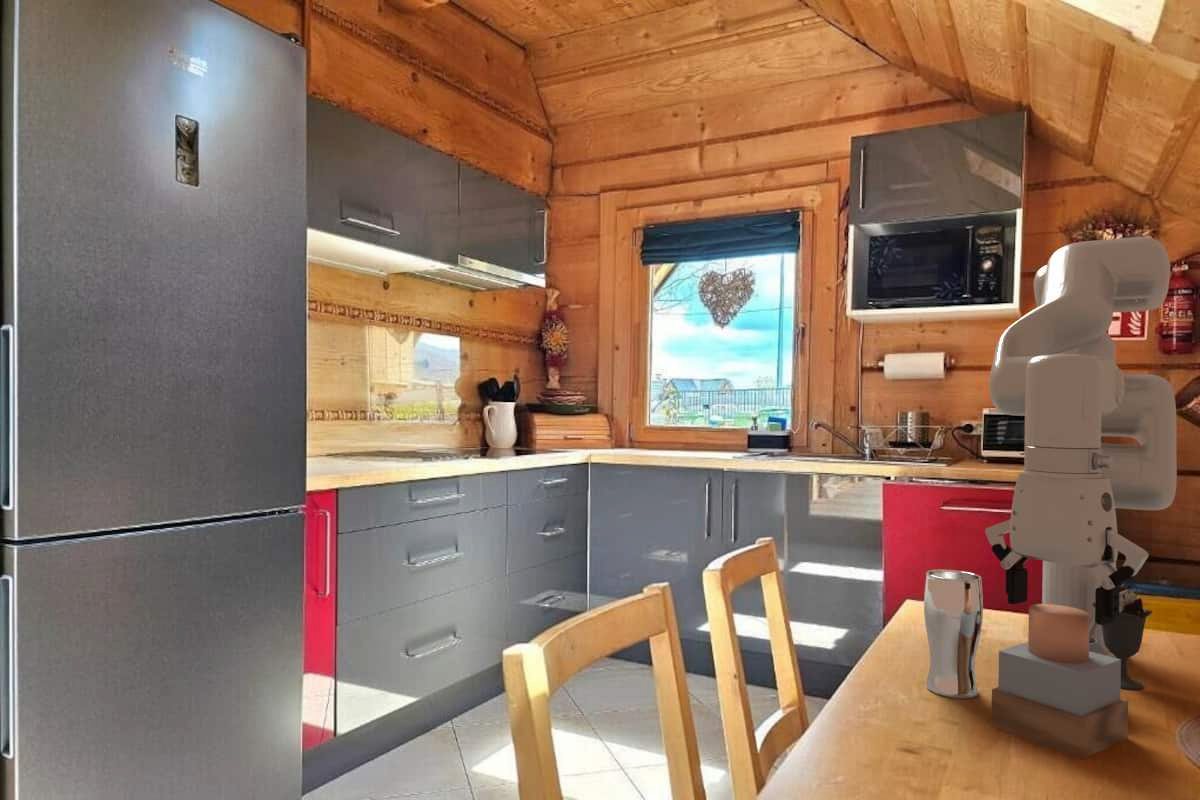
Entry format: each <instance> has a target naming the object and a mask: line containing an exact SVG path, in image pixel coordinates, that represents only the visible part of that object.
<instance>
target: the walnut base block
mask: <svg viewBox="0 0 1200 800" xmlns="http://www.w3.org/2000/svg"><path fill="white" fill-rule="evenodd" d="M990 721H991V723H990V725H991V726H992V727H994V728H997V729H1000V730H1003V731H1005V732H1007V733H1010V734H1013V735H1016V736H1018V737H1021V738H1024V739H1027V740H1029V741H1033V742H1035V743H1037V744H1041V745H1044V746H1046V747H1049V748H1052V749H1055V750H1057V751H1060V752H1062V753H1065V754H1068V755H1070V756H1073V757H1077V758H1079V759H1081V760H1085V759H1086V758H1087V759H1088V758H1089V757H1091V756H1094V755H1095V754H1098V753H1099V752H1101V751H1104V750H1106V749H1108V748H1110V747H1112V746H1114V745H1116V744H1118V743H1120V742H1122V741H1124V740H1127V739H1128V735H1129V734H1128V733H1129V732H1128V731H1129V700H1127V699H1125V698H1121V697H1120V700H1118V701H1116V702H1113V703H1111V704H1109V705H1106V706H1104V707H1102V708H1099V709H1097V710H1095V711H1093V712H1090V713H1088V714H1086V715H1083V716H1079V715H1076V714H1073V713H1069V712H1066V711H1063V710H1060V709H1057V708H1054V707H1051V706H1048V705H1044V704H1041V703H1038V702H1035V701H1032V700H1029V699H1026V698H1022V697H1019V696H1016V695H1013V694H1010V693H1007V692H1004V691H1000V690H998V687H995V688H992V689H991V720H990Z"/></svg>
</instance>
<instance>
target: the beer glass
mask: <svg viewBox="0 0 1200 800" xmlns="http://www.w3.org/2000/svg"><path fill="white" fill-rule="evenodd" d="M925 574H926V575H925V577H926V579H925V587H924V598H923V600H924V601H923V611H924V613H923V615H924V623H925V631H926V637H927V642H928V643H927V644H928V648H929V659H930V660H929V669H928V675H927V678H926V685H925V686H926V688H927V689H928V690H929V691H930V692H932V693H934V694H936V695H939V696H942V697H946V698H951V699H958V700H959V699H963V700H964V699H966V700H967V699H973V698H975V697H977V696H978V693H979V692H978V691H979V690H978V684H977V683H978V682H977V678H976V672H975V671H976V668H975V667H976V657H977V651H978V647H979V641H980V637H981V632H982V625H983V619H984V618H983V615H984V600H983V599H984V598H983V586H982V585H983V584H982V583H983V582H982V576H981V575H979V574H976V573H973V572H969V571H963V570H955V569H931V570H928V571H926V573H925Z"/></svg>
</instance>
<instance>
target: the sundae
mask: <svg viewBox="0 0 1200 800" xmlns="http://www.w3.org/2000/svg"><path fill="white" fill-rule="evenodd" d="M1125 590H1128V592H1127V593H1125V594H1124V595H1122V596H1120V597H1119V615H1118V617H1117V618H1115V621H1114V622H1112V623H1109V624H1106V625H1101V626H1102V634H1103V639H1104V644H1105V646H1106V647H1107V649H1108V650H1109V651H1110V652H1111V653H1112V654H1114V655H1115V657H1116V658H1117V659H1121V685H1120V689H1122V690H1130V691H1131V690H1132V691H1133V690H1136V691H1137V690H1141V689H1143V688H1144V684H1143V683H1142V682H1140V681H1138V680H1136V679H1133V678H1131V676H1129V674H1128V667H1127V663H1128V662H1127V661H1128V659H1129V658H1131V657H1133V656H1135V655H1136V654H1137V653H1138V652H1139V651H1140V648H1141V645H1142V641H1143V636H1144V632H1145V631H1144V629H1145V625H1146V619H1147V617H1148V616H1150V615H1152V614H1153V610H1149V609H1146V608H1145V607H1144V606H1143V599H1142V598H1138V597H1137V595H1136V594H1135V593H1134V592H1133V591H1132V590H1131V589H1128V588H1126V587H1124V586H1120V592H1123V591H1125ZM1092 605H1093V607H1095V603H1093V604H1092Z"/></svg>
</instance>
